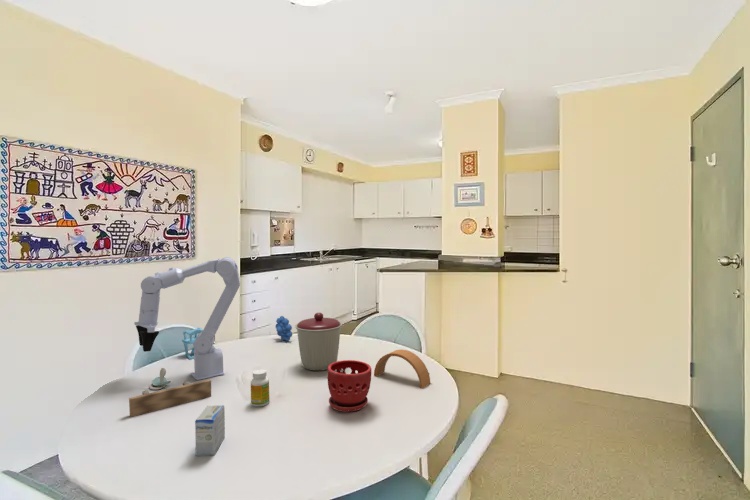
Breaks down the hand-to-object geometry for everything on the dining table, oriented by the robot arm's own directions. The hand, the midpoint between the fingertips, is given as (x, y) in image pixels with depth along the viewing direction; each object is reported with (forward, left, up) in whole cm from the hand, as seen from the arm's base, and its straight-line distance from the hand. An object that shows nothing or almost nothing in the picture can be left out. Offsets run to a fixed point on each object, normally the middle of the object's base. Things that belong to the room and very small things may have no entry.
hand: (145, 348), depth 137 cm
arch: (-70, +57, -12) cm, 91 cm away
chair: (-21, -21, -12) cm, 32 cm away
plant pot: (-44, +62, -12) cm, 77 cm away
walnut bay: (-3, +22, -12) cm, 26 cm away
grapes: (-60, -17, -12) cm, 63 cm away
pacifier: (-3, +8, -12) cm, 15 cm away
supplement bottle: (-24, +43, -12) cm, 51 cm away
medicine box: (-5, +59, -12) cm, 61 cm away
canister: (-55, +26, -12) cm, 62 cm away
